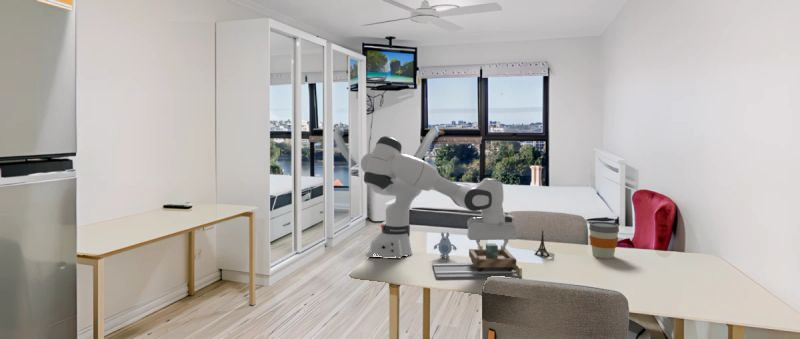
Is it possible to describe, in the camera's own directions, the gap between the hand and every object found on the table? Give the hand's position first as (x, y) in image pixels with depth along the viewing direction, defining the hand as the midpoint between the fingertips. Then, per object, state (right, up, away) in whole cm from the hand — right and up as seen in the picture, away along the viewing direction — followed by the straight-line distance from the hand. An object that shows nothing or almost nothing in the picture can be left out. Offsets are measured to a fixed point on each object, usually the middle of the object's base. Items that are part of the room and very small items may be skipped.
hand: (491, 249), depth 179 cm
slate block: (0, -4, 0) cm, 4 cm away
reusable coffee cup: (+57, -7, +22) cm, 61 cm away
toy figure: (-17, -8, +20) cm, 28 cm away
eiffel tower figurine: (+29, -8, +23) cm, 38 cm away
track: (-7, -9, +1) cm, 11 cm away
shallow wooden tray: (0, -7, +1) cm, 7 cm away
